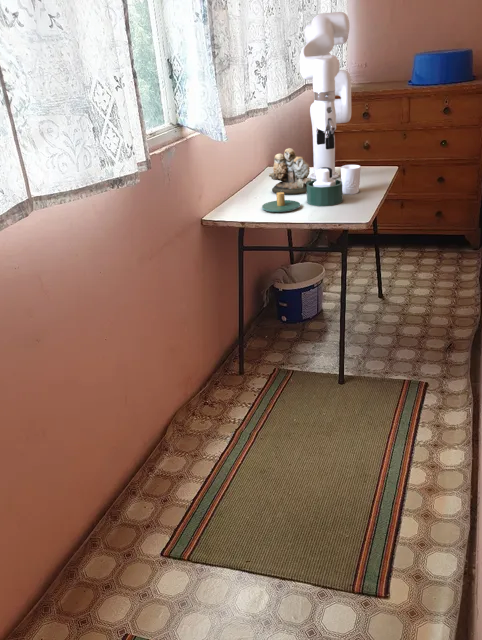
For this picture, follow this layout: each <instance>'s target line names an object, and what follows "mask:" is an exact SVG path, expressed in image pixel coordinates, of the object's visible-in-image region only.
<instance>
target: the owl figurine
mask: <svg viewBox="0 0 482 640" xmlns="http://www.w3.org/2000/svg"><path fill="white" fill-rule="evenodd" d="M273 162H274V163H273V167H272V171H273V172H271V173H268V177H269V178H271V180H273V181H279V182H278V183H276V184H275V185H273V187H272V188H271V191H272V193H273V194H276V195H277V193H278V192H284V195H285V196H295V195H297V196H298V195H305V194H307V185H306V184H307V183H308V182H310V181H312V179H311V178H310V177H309V176H310V171H311V169H310V164H309V163H308V162H306V160H305V158H304V156H298V155H296V151H295V150H294V149H293V148H290V147H288V148H286V149H285V150H284V152H283V154H282V153H277V154H275V155H274V159H273Z"/></svg>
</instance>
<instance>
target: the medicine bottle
mask: <svg viewBox="0 0 482 640" xmlns="http://www.w3.org/2000/svg"><path fill="white" fill-rule="evenodd" d="M316 179H317V181H316V182H314V183H313V186H314V187H329V186H335V185H336V180H337V179H336V178H335V179H336V180H335V179H332V169H331V168H329V167H322V168H318V169H317V170H316Z"/></svg>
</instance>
